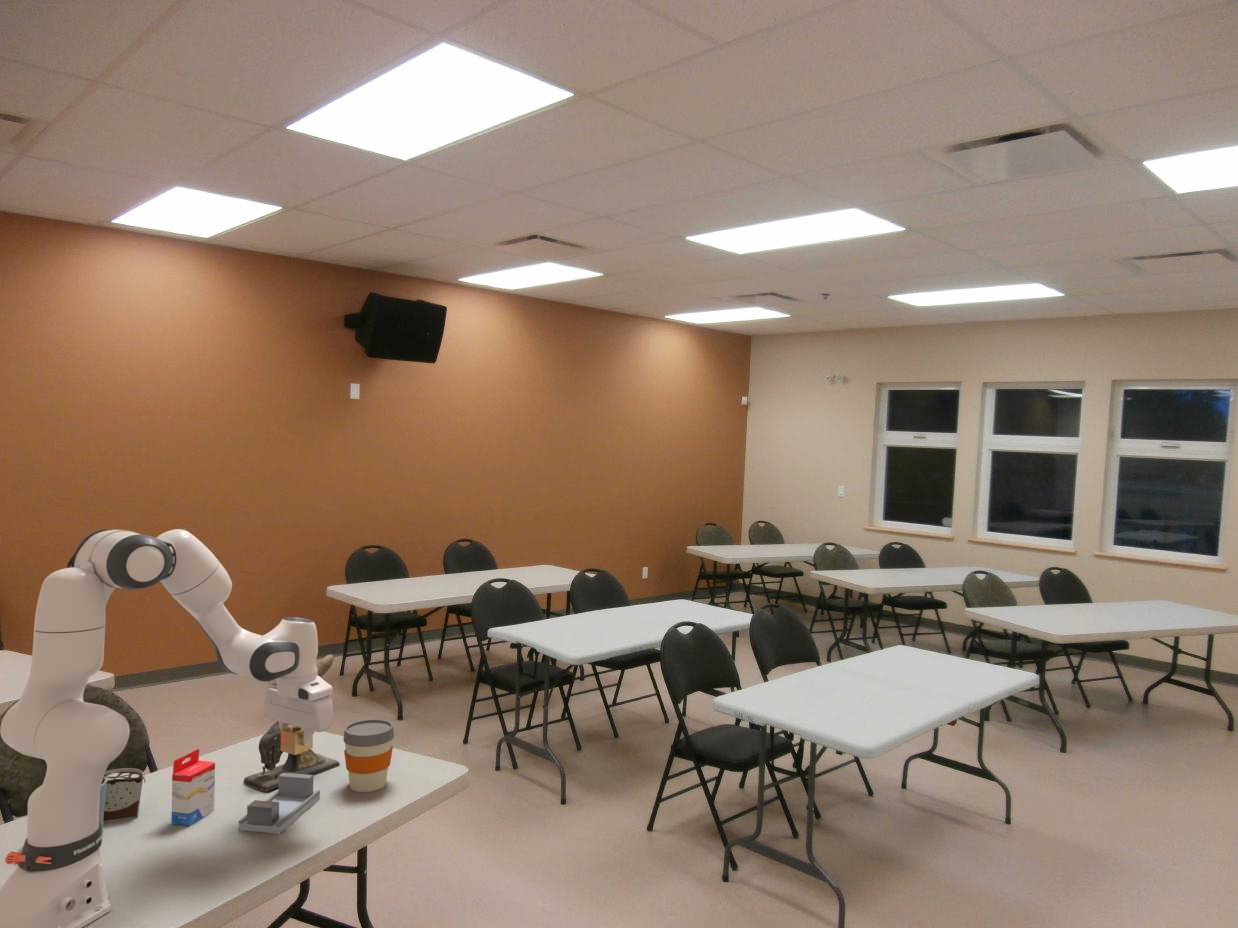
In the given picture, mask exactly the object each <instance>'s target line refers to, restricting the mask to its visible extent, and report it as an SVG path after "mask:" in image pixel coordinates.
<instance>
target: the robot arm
mask: <svg viewBox="0 0 1238 928" xmlns="http://www.w3.org/2000/svg"><path fill="white" fill-rule="evenodd" d="M159 582H160V583H161V584H162V586H163V587H164V589H166V591H167V592H168V593H169V594H170V595H171V597H172V598H173V599H175V601H176V602H177V603H178V604H179V605H180V606H181V607H183V608H184V609H185V610H186V611H187V612H188V613H189V614H190V615H191V616H192V617H193V619H194V620H195V621H196V623H197V624H198V625H199V626H200V628H201V629H202V630H203V632H204V633H205V635H206V636H207V637H208V639H210V641H211V643H212V644H213V647H214V650H215V654H216V658H217V662H218V664H219V666H220V667H221V668H222V669H223V670H224V671H225V672H227V673H229V674H233V675H239V676H243V677H245V678H248V679H251V680H255V681H259V682H268V683H267V685H266V691H265V694H264V699H263V709H262V713H263V716H264V718H265V719H267V720H272V721H275V722H276V721H278V722H279V727H280V730H282V729H285V728H288V727H290V726H297V727H301V728H304V733H305V736H304V738H301V745H302V746H306V747H307V746H309V745H310V744H311V737H312V736H313V737H314V733H315V732H316V733H322V732H325V731H327V730H330V728H331V727H332V725H333V721H334V719H333V718H334V705H333V704H334V703H333V700H332V697H331V696H332V695H333V692H334V691H333V690H334V689H333V686H332V685H331V684H330V683H328V682H327V681H325V680H324V679H323V678H322V677H320V676H317V657H318V654H319V641H318V639H319V638H318V630H317V625H316V623H315V622H314V621H313V620H312V619H309V618H305V617H298V616H287V617H283V618H281V620H280V622H279V623H278V625H276V626H274V628H273V629H271V630H270V631H268V632H267V633H265V634H262V635H261V634H258V633H255V632H253V631H250V630H248V629H245V628H242V626H240V625H239V624H238V623H237V621H236V620H235V618H234V617H233V616H232V615H231V613H230V611H229V610H228V609H227V607H226V606H225V605H224V603H225V602H226V601H227V600H228V599H229V597H230V595H231V592H232V588H233V582H232V579H231V577H230V575H229V573H228V571H227V570H226V567H224V566H223V564H222V563H221V562H220V561H219V559H218V558H217V557H216V556H215V554H214V553H213V552H212V551H211V550H210V549H209V548H208V547H207V545H205V544H204V543H203V542H202V541H201V540H199V539H198V538H197V537H196V536H195V535H194V534H192V533H191V532H189V531H188V530H186V529H180V528H177V529H170V530H168V531H164V532H162V533H161V534H160V535H158V536H156V537H154V536H151V535H147V534H141V533H137V532H135V531H134V530H133V531H131V530H127V529H126V530H125V529H115V528H113V529H112V528H105V529H104V528H103V529H100V530H95V531H93V532H91V533H89V534H88V535H87V534H86V536H85V537H83V539H81V540H80V542H79V543H78V544H77V546H76V548H75V550H74V551H73V554H72V556H71V557H70V559H69V560H68V562H67V564H66V567H65V568H62V569H59V570H56V571H54V572H52V573H50V574H49V575H47V577H45V578H44V580H43V581H42V584H41V586H40V587H41V588H40V589H39V595H38V597H37V604H36V608H35V614H34V615H35V616H34V621H33V622H34V624H33V625H34V626H33V639H32V640H33V641H32V654H31V666H30V672H29V676H28V679H27V682H26V684H25V687H24V691H22V694H21V696H20V698H19V700H18V701H17V702H16V703H14V704H13V705H12V706H11V707H10V708H9V709H8V710H7V711H6V713H5V714H4V716H3V718H2V720H1V724H0V736H1V740H3V742H4V743H5V744H6V745H7V746H9V747H10V748H12V749H13V750H15V751H16V752H18V753H20V754H21V755H23V756H27V757H32V758H36V759H41V760H44V761H45V763H46V772H45V776H44V780H43V782H42V784H41V785H39V786H38V787H37V788H36V789H34V791H33V792H32V793H31V794H30V796H29V798H28V800H27V824H26V825H27V832H26V833H27V834H26V835H27V836H26V837H27V838H26V839H25V841H24V843H23V845H22V847H21V848H22V849H21V850H20V852H17V851H9V852H8V853H7V854H6V856H5V860H4V861H5V864H6V865H14V866H15V865H17V867H16V868H15V870H14V871H13V872H12V873H11V874H10V876H9V878H7V879H6V881H5V882H4V884H3V885H2V886H1V888H0V928H84V927H86V926H87V925H88V924H89V925H90V924H91V923H92V922H94V921H95V920H97V919H99V918H100V917H102V916H105V915H106V914H108V913H109V912H110V911H112V905H111V902H110V900H109V892H108V891H109V890H108V888H107V884H106V875H105V868H104V863H103V859H102V855H101V850H100V849H101V845H102V843H103V834H104V833H102V825H101V823H100V822H99V809H100V790H101V784H102V780H103V777H104V774H105V772H106V771H107V768H108V767H109V765H110V764H111V762H113V761H114V760H116V759H117V758H118V757H119V756H120V755H121V754H122V752H123V751H124V749H125V748H126V746H127V744H128V741H129V737H130V725H129V721H128V720H127V719H126V717H125V716H124V715H123V714H121V713H119V712H117V711H116V710H114V709H112V708H110V707H108V706H106V705H103V704H97V703H92V702H86V701H84V692H85V689H86V686H87V684H88V682H89V679H90V677H92V676H94V675H95V674H96V673H98V672H99V671H100V670H101V668H102V667H103V665H104V661H105V660H104V657H105V641H106V640H105V637H106V619H107V616H106V607H107V605H108V601H109V600H110V599H109V598H110V597H111V595H112V593H113V592H114V591H115V589H124V590H129V591H136V590H144V589H147V588H149V587H152V586H154V585H156V584H157V583H159ZM289 725H290V726H289Z"/></svg>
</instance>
